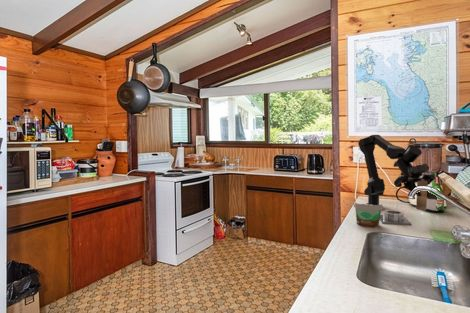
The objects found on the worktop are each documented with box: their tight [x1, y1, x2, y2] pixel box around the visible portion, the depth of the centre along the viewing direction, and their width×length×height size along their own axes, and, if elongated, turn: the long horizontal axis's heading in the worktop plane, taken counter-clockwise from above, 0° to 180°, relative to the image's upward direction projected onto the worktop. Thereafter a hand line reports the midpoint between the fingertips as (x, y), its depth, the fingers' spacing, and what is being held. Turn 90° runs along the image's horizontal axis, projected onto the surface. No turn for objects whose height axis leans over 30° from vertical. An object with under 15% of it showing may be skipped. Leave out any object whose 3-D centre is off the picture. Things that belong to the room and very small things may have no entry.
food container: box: [353, 201, 384, 228], centre depth 138 cm, size 12×6×10 cm, turn 70°
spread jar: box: [424, 188, 441, 213], centre depth 164 cm, size 12×11×12 cm
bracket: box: [379, 209, 412, 226], centre depth 146 cm, size 12×12×4 cm
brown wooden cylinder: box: [415, 181, 427, 211], centre depth 140 cm, size 4×4×13 cm
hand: (424, 195), depth 139 cm, fingers closed on brown wooden cylinder, 4 cm apart
